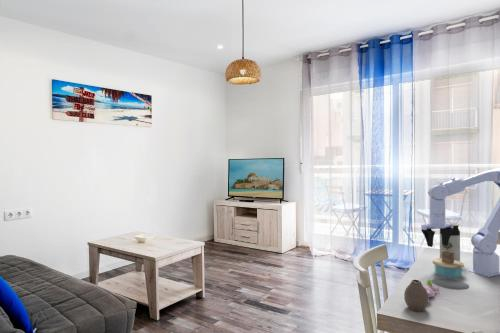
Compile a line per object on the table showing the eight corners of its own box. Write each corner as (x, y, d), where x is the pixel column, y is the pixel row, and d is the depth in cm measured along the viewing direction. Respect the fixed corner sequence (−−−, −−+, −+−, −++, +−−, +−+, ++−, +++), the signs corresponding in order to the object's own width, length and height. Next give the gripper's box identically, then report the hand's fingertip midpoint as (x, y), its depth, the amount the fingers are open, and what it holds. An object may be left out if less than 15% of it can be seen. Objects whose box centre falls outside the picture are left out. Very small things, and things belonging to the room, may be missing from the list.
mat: (445, 278, 135) (445, 276, 135) (476, 287, 125) (476, 286, 125) (424, 282, 130) (424, 281, 130) (455, 293, 119) (455, 291, 119)
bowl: (444, 270, 145) (444, 259, 145) (465, 276, 137) (465, 265, 137) (430, 273, 141) (430, 262, 141) (450, 280, 133) (450, 268, 133)
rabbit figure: (425, 293, 124) (409, 297, 113) (426, 276, 124) (410, 279, 114) (444, 298, 119) (429, 303, 109) (445, 280, 120) (430, 284, 109)
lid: (444, 259, 146) (444, 247, 146) (470, 265, 136) (470, 253, 136) (426, 262, 142) (426, 250, 141) (451, 269, 132) (451, 257, 131)
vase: (431, 314, 103) (431, 285, 103) (407, 312, 104) (407, 283, 104) (424, 305, 110) (424, 277, 110) (401, 303, 111) (401, 276, 111)
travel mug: (446, 259, 161) (446, 221, 161) (463, 263, 155) (463, 223, 154) (436, 261, 157) (436, 222, 157) (453, 266, 151) (453, 225, 150)
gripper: (430, 215, 139) (430, 249, 139) (459, 214, 143) (459, 246, 143) (417, 213, 146) (417, 245, 146) (445, 212, 150) (445, 243, 150)
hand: (437, 245), depth 145 cm, fingers open, 7 cm apart
